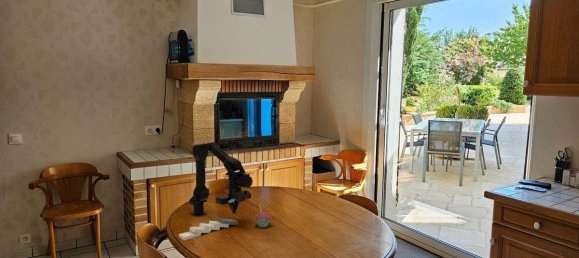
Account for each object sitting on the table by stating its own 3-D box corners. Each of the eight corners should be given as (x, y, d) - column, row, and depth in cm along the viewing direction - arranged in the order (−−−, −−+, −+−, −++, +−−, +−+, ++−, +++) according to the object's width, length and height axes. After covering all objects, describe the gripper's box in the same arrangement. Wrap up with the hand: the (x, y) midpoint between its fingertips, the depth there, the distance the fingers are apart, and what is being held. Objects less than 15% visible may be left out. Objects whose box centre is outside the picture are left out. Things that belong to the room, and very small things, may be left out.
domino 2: (210, 232, 195) (194, 232, 189) (204, 230, 199) (189, 230, 192) (210, 229, 196) (195, 229, 189) (205, 226, 199) (190, 226, 192)
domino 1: (200, 235, 192) (183, 240, 186) (195, 233, 195) (178, 237, 189) (200, 232, 192) (183, 237, 186) (195, 229, 195) (178, 234, 189)
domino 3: (219, 230, 199) (204, 229, 193) (214, 227, 203) (199, 226, 196) (220, 226, 199) (205, 225, 193) (214, 224, 203) (199, 223, 197)
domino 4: (228, 227, 203) (213, 226, 197) (223, 224, 206) (208, 223, 200) (229, 224, 203) (214, 223, 197) (223, 221, 206) (209, 220, 200)
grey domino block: (237, 225, 206) (223, 224, 200) (232, 222, 210) (218, 221, 204) (238, 221, 207) (224, 220, 201) (232, 219, 210) (218, 218, 204)
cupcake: (256, 229, 201) (256, 206, 199) (253, 223, 209) (253, 201, 207) (273, 228, 203) (273, 205, 202) (269, 222, 211) (269, 200, 210)
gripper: (227, 191, 193) (227, 221, 195) (257, 184, 206) (257, 213, 208) (215, 186, 201) (215, 216, 203) (245, 180, 214) (245, 208, 216)
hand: (233, 213), depth 207 cm, fingers closed
